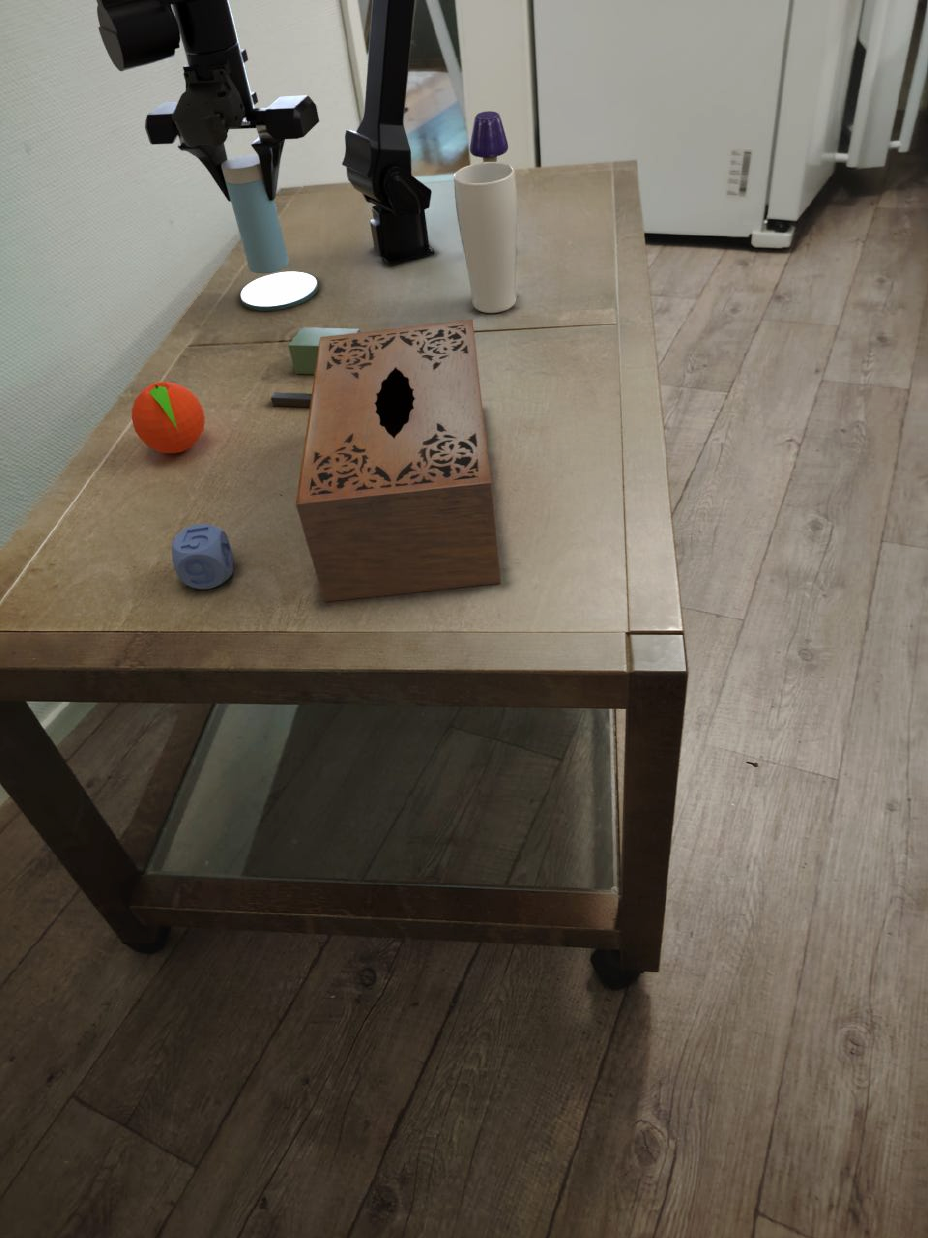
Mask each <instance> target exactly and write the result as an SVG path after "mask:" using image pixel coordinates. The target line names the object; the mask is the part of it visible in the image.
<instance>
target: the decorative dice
mask: <svg viewBox="0 0 928 1238" xmlns="http://www.w3.org/2000/svg"><path fill="white" fill-rule="evenodd" d="M171 556H172V562H173V567H174V570H175V574H176V576H177V578H178V579H179V581H180V582H181V583H183V584H184V585H186V586H187V587H189V588H193V589H198V590H210V589H215V588H217V587H219V586H221V585H222V584H224V583H226V582H227V581H228V580H229V579H230V578H231V576H232V575H233V572H234V557H233V551H232V546H231V543H230V540H229V537H228V535H227V533H226V532H225V531H224V530H223V529H221V528H220V527H218V526H215V525H212V524H208V523H198V524H193V525H190V526H188V527H185V528H184V529H182V530H180V531H179V532H178V533H177V534H176V535H175V536H174V538H173V540H172V544H171Z"/></svg>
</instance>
